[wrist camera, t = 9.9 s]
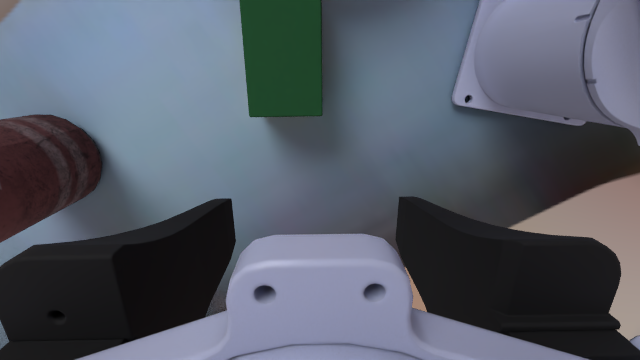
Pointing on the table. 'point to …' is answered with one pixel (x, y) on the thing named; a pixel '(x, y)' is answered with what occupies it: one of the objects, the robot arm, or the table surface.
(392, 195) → the table surface
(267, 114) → the sponge
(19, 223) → the can
